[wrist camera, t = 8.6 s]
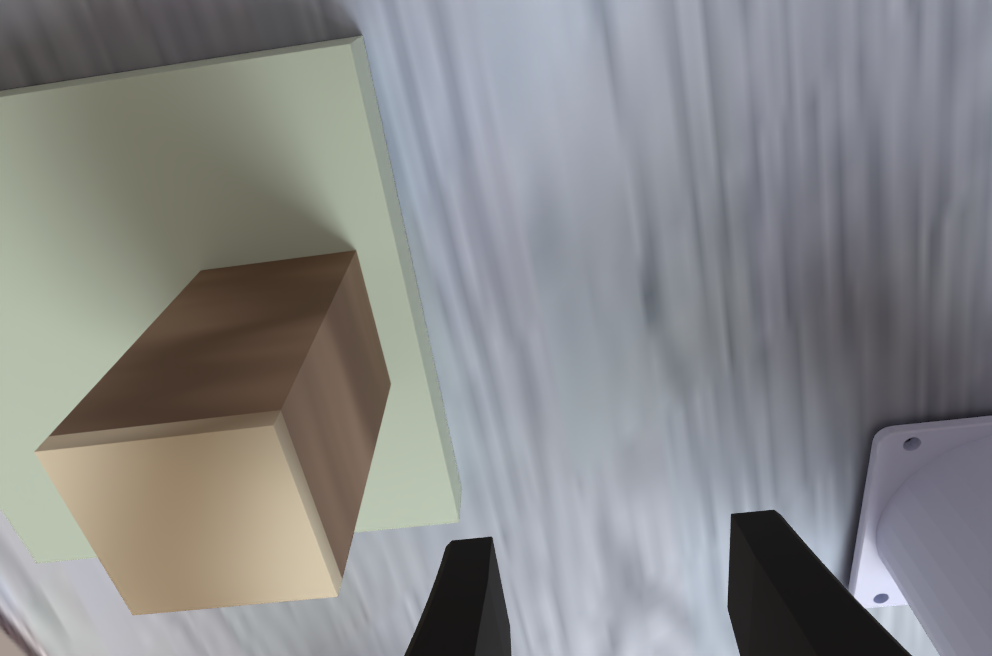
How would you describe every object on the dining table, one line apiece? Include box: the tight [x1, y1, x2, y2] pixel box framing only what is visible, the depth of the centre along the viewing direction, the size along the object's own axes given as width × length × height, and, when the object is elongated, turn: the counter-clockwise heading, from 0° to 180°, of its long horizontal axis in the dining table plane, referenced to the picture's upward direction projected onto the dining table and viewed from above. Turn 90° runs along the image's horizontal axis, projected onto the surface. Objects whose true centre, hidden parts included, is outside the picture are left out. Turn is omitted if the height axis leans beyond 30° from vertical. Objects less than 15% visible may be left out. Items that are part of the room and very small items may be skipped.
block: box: [34, 250, 391, 615], centre depth 15 cm, size 4×4×7 cm
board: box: [0, 35, 462, 563], centre depth 19 cm, size 14×14×2 cm
